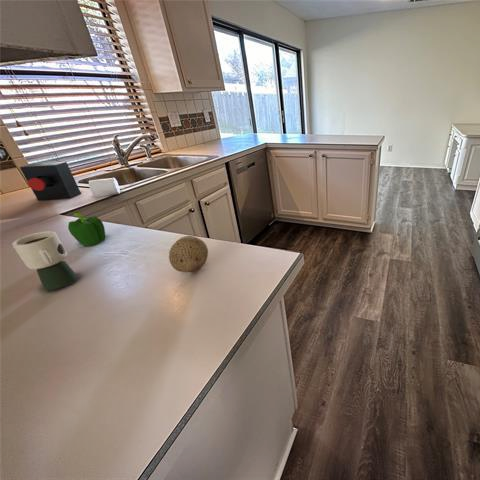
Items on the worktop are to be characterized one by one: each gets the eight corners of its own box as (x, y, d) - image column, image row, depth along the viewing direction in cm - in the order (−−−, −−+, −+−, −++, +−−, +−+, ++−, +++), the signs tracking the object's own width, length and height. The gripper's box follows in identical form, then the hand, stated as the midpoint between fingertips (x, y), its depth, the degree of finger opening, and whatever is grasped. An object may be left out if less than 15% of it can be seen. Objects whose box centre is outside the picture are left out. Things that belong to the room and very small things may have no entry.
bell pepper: (113, 241, 85) (100, 212, 80) (81, 251, 80) (65, 221, 75) (105, 234, 90) (93, 207, 85) (75, 243, 84) (59, 215, 80)
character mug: (86, 285, 64) (60, 238, 58) (47, 301, 59) (14, 251, 53) (75, 270, 70) (50, 226, 64) (39, 283, 66) (9, 237, 60)
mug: (119, 195, 129) (112, 179, 126) (94, 199, 125) (86, 182, 122) (122, 189, 139) (116, 174, 135) (99, 192, 135) (92, 177, 131)
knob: (46, 190, 119) (39, 177, 116) (32, 191, 118) (25, 178, 115) (55, 186, 124) (49, 174, 122) (42, 187, 123) (35, 175, 121)
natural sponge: (209, 280, 65) (199, 244, 60) (170, 285, 63) (157, 249, 59) (214, 261, 73) (206, 228, 68) (180, 265, 71) (169, 232, 67)
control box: (71, 198, 127) (54, 165, 120) (38, 201, 125) (19, 167, 118) (81, 193, 134) (66, 161, 127) (50, 195, 132) (33, 163, 125)
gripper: (-27, 147, 88) (15, 141, 103) (-75, 150, 86) (-24, 143, 101) (-13, 170, 91) (26, 161, 107) (-59, 173, 89) (-12, 163, 105)
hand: (1, 152), depth 104 cm, fingers closed
